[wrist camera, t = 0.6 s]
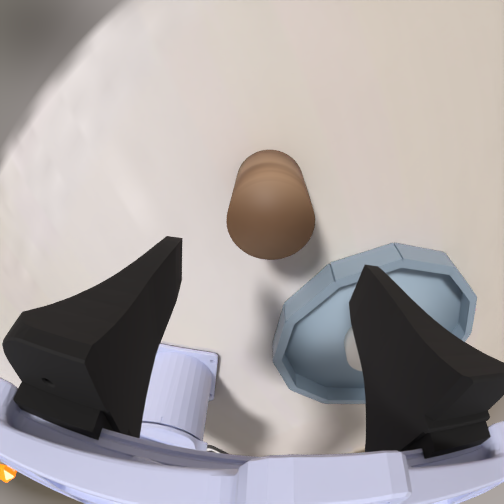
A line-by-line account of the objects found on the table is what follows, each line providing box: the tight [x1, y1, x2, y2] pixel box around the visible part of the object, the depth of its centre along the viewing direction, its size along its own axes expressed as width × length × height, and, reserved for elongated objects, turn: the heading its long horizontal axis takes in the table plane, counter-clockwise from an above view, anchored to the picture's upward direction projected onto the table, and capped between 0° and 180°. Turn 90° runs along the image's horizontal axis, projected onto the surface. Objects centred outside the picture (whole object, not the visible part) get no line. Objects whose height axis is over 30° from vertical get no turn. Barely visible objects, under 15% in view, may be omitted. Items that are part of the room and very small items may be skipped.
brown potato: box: [227, 150, 315, 260], centre depth 18 cm, size 4×4×6 cm
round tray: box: [273, 243, 477, 404], centre depth 27 cm, size 20×20×2 cm
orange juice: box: [0, 464, 17, 482], centre depth 76 cm, size 8×9×20 cm
